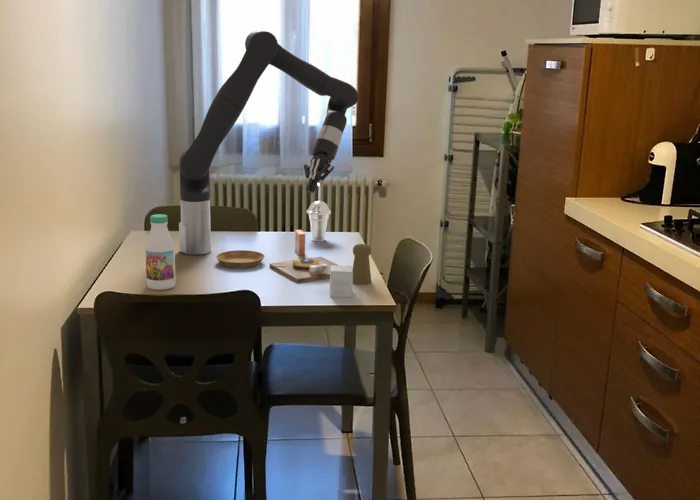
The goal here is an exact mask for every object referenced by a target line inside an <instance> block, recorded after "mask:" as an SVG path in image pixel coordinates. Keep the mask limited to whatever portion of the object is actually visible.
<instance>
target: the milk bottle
mask: <svg viewBox="0 0 700 500" xmlns="http://www.w3.org/2000/svg"><path fill="white" fill-rule="evenodd" d="M168 219H169V217H168V215H167V214H164V213H163V214H161V213H160V214H159V213H158V214H157V213H156V214H152V215H150V217H149V221H150V225H151V226H150V231H149V234H148V236H147V239H146V243H145V270H146V271H145V272H146V287H147V288H148V289H150V290H153V291H163V290H170V289H173V288H175V286H176V282H177V281H176V261H175V259H176V258H175V257H176V256H175V253H176V252H175V243H174V240H173V238H172V236H171V232H170V231H169V229H168V224H169V223H168V221H169V220H168Z"/></svg>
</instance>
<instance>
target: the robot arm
mask: <svg viewBox="0 0 700 500" xmlns="http://www.w3.org/2000/svg"><path fill="white" fill-rule="evenodd" d="M244 45H245V46H244V47H245V52H244V54H243V55H242V57H241V61H240V62H239V64H238V66H237V67H236V69H235V70H234V71H233V72H232V74H231V75H230V76H229V77H228V78H227V80H226V81H225V82H224V83H223V85H221V86H220V89H219V90H218V92H217V93H216V95H214V99H213V100H212V102H211V104H210V106H209V108H208V110H207V112H206V114H205V117H204V120H203V122H202V125H201V128H200V130H199V132H198V134H197V136H196V138H195V139H194V140H193V142H192V143H191V145H190V146H189V147H188V149H185V151H183V152H182V153H181V155H180V157H179V195H180V199H179V200H180V222H178V234H179V235H178V237H179V251H180V252H181V253H183V254H184V255H186V256H188V255H192V256H194V255H198V254H199V255H206V254H209V253H211V252H212V241H211V239H212V237H211V232H212V230H211V189H210V185H211V184H210V168H211V165H212V163H213V160H214V159H215V157H216V154H217V152H218V149H219V148H220V146H221V145H222V143H223V141H224V140H225V138H226V137H227V136H228V134H229V133H230V132H231V130H232V129H233V127H234V125H235V124H236V122H237V121H238V119H239V117H240V116H241V114H242V112H243V111H244V109H245V107H246V106H247V102H248V101H249V99H250V98H251V96H252V93H253V91H254V89H255V87H256V85H257V83H258V82H259V79H260V77H261V76H262V75H263V73H264V72H265V71H266V69H267V68H268V66H269V65H270V66H272V67H275V68H276V69H278V70H280V71H281V72H283V73H285V74H286V75H287V76H289V77H290V78H292V79H294V81H297V82H298V83H299V84H301V85H302V86H304V87H305V88H307V89H309V90H310V91H312V92H313V93H315V94H316V95H318V96H321V97H325V96H326V97H329V99H328V102H327V108H326V114H325V115H326V116H325V117H324V120H323V123H322V126H321V128H320V129H319V132H318V134H317V137H316V140H315V142H314V145H313V148H312V150H311V152H312V155H313V156H312V158H311V159H310V162H309V163H308V164H306V163H305V164H304V165H303V170H304V176H305V179H308V181H307V184H306V188H305V191H306V192H308V193H309V194H314V193H315V191H316V189H317V187H318V185H317V183H319V184H320V181H322V182H323V181H324V180H325V179H326V178H327V177H328V176H329V175H330V174H331V172H333V170H334V169H335V166H334V165H333V164H332V161H334V160H335V158H336V156H337V152H338V151H339V150H338V149H339V147H340V145H341V142H342V137H343V134H344V131H345V129H346V125H347V120H348V119H347V117H346V113H347V111H348V109H349V108H352V107H353V106H355V105H356V104H357V103H358V102H359V97H360V96H359V93H358V90H357V89H356V88H355V87H354V86H353V85H352V84H350V83H348V82H345V81H344V80H341V79H339V78H336V77H332V76H330V75H329V74H327V73H326V72H325V71H323V70H321V69H319V68H318V67H316V66H315V65H313V64H312V63H309V62H308V61H306V60H304V59H302V58H300V57H299V56H296V55H294V54H293V53H291V52H290V51H288V50H287V49H286V48H284V47H283V46H282V45H281V44H279V43H278V39H277V37H276V36H275V34H273V33H272V32H270V31H267V30H263V29H257V30H254V31H252V32H250V33H249V34H248V35H247V36H246V38H245V41H244Z"/></svg>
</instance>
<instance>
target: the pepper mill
mask: <svg viewBox="0 0 700 500" xmlns="http://www.w3.org/2000/svg"><path fill="white" fill-rule="evenodd" d="M352 253H353V256H354V258H353V264H352V270H353V285H359V286H362V285H370V284H371V283H372V275H371V274H372V273H371V266H370V256H371V253H372V249H371V246H370V245H369V244H365V243H357V244H355V245H354V246H353V248H352Z"/></svg>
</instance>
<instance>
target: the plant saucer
mask: <svg viewBox="0 0 700 500" xmlns="http://www.w3.org/2000/svg"><path fill="white" fill-rule="evenodd" d="M215 257H216V260H217V261H218V262H219V263H221V265H223V266H224V267H226V268H230V269H249V268H253V267H257V266H258V265H259V264H261V262H262V261H264V258H265V254H264V253H262V252H258V251H255V250H228V251H224V252H223V251H222V252H220V253H218V254H217V255H216V256H215Z"/></svg>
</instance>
